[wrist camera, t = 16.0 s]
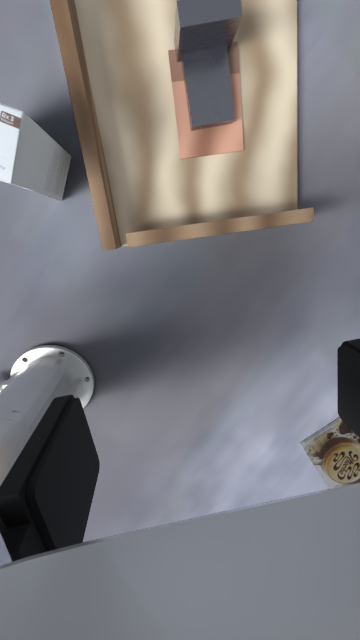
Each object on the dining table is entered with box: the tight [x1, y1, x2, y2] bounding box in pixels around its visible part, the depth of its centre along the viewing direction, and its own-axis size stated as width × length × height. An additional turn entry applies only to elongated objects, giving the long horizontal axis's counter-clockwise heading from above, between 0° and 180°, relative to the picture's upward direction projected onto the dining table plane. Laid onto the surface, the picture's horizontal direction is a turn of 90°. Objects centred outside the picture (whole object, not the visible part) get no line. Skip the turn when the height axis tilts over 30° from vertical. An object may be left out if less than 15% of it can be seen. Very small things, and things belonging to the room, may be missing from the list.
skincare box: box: [0, 103, 71, 201], centre depth 29 cm, size 8×6×15 cm
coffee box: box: [300, 417, 360, 489], centre depth 45 cm, size 9×6×16 cm
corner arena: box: [50, 0, 314, 251], centre depth 33 cm, size 26×26×6 cm
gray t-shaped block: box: [174, 0, 242, 131], centre depth 31 cm, size 9×6×6 cm, turn 10°
